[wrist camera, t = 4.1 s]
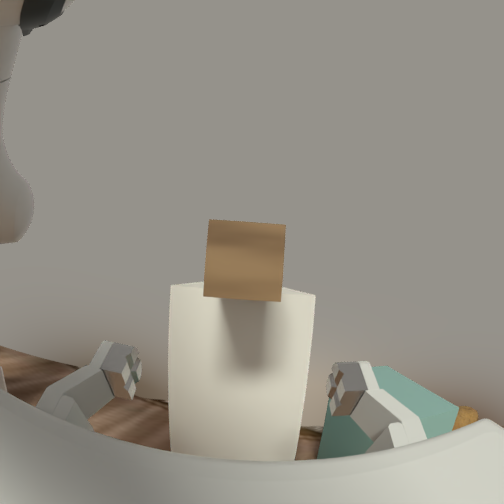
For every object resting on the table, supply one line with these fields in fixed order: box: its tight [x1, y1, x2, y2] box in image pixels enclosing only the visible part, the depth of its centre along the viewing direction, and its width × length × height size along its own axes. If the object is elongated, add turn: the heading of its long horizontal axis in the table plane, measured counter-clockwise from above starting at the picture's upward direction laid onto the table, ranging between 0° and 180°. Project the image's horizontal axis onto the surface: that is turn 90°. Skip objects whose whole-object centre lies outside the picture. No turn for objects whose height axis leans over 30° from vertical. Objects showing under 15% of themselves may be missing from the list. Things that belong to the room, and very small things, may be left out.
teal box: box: [317, 366, 459, 459], centre depth 24 cm, size 8×16×16 cm, turn 1°
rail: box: [203, 220, 286, 302], centre depth 25 cm, size 22×4×4 cm, turn 1°
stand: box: [168, 282, 316, 461], centre depth 31 cm, size 12×18×26 cm, turn 1°
